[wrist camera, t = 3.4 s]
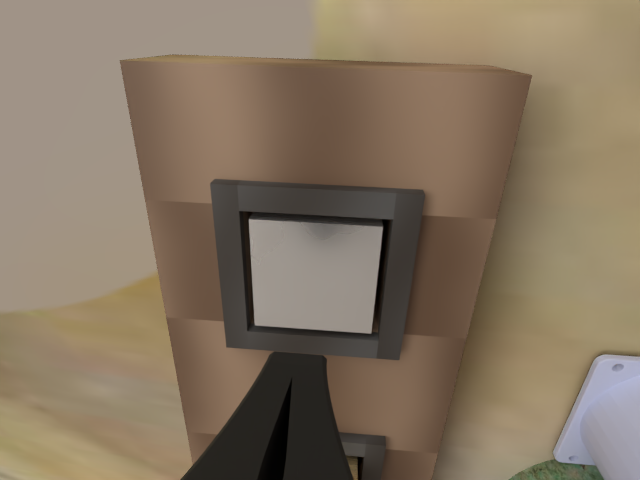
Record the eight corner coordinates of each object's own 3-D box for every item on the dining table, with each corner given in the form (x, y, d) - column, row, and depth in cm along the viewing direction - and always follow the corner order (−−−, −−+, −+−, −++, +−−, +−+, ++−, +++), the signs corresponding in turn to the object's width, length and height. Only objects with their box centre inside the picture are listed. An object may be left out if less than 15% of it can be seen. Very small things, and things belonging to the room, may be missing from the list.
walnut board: (489, 65, 15) (539, 76, 11) (403, 491, 27) (412, 571, 23) (173, 54, 16) (110, 61, 12) (225, 474, 27) (203, 550, 23)
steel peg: (376, 184, 17) (383, 227, 13) (367, 275, 19) (371, 333, 15) (271, 179, 17) (248, 219, 14) (273, 269, 19) (254, 325, 16)
